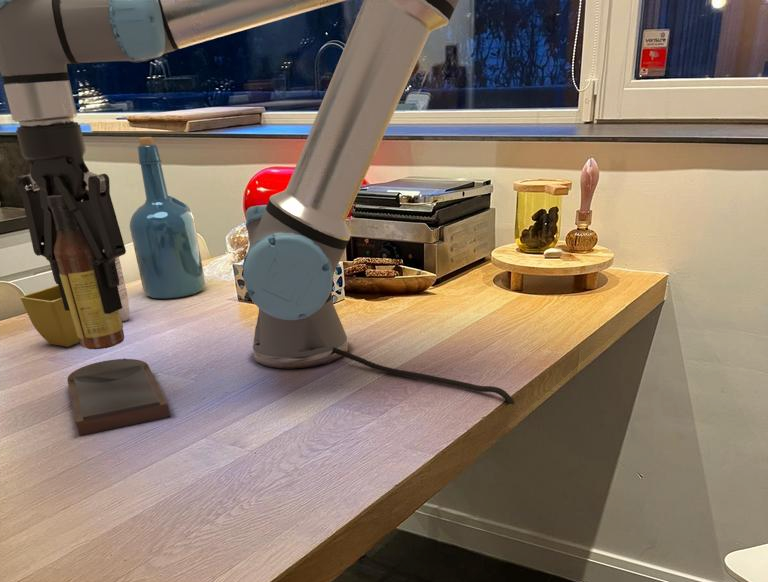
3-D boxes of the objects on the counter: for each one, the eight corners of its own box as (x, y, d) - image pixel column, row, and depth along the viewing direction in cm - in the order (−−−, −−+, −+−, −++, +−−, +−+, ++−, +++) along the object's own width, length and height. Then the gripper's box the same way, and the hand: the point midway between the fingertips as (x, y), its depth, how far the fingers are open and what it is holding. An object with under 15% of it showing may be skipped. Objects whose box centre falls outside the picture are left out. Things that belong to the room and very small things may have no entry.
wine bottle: (174, 303, 159) (142, 141, 144) (131, 297, 166) (95, 141, 150) (221, 286, 169) (195, 133, 153) (178, 281, 175) (149, 134, 160)
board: (170, 416, 107) (166, 399, 106) (79, 435, 103) (74, 418, 102) (145, 365, 126) (142, 350, 125) (68, 380, 122) (64, 364, 121)
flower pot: (65, 352, 135) (50, 301, 130) (33, 346, 139) (18, 296, 134) (105, 337, 141) (92, 287, 136) (73, 332, 145) (60, 283, 141)
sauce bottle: (135, 339, 111) (102, 189, 101) (104, 353, 106) (66, 197, 96) (100, 335, 113) (64, 189, 103) (68, 348, 108) (27, 196, 98)
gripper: (129, 117, 95) (167, 305, 106) (13, 122, 102) (60, 298, 114) (85, 122, 89) (131, 321, 101) (-34, 127, 96) (21, 312, 108)
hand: (93, 309), depth 107 cm, fingers closed on sauce bottle, 6 cm apart
